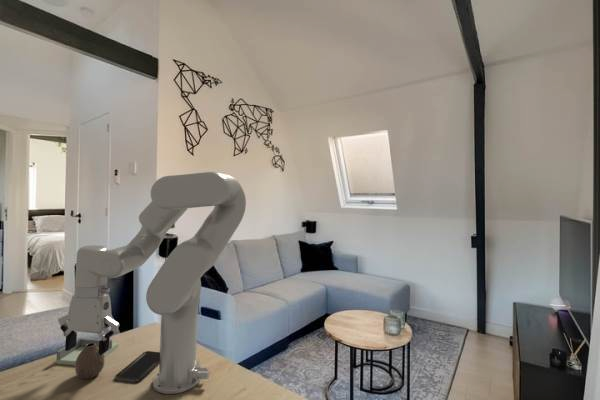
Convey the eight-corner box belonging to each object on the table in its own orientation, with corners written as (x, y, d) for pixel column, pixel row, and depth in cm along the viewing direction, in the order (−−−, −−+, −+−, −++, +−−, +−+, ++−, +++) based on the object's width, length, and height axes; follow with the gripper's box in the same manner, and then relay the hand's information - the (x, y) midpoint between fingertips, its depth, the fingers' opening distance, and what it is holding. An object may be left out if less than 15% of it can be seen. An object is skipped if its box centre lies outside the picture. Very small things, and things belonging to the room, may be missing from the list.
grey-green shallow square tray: (117, 346, 105) (118, 335, 105) (91, 366, 93) (92, 354, 93) (86, 344, 106) (86, 333, 106) (56, 363, 94) (56, 351, 94)
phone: (112, 377, 87) (145, 350, 102) (112, 381, 87) (145, 354, 102) (139, 381, 86) (168, 353, 101) (139, 385, 86) (168, 356, 101)
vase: (89, 384, 85) (90, 352, 85) (68, 380, 86) (69, 348, 86) (110, 370, 92) (110, 340, 91) (89, 366, 93) (90, 337, 93)
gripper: (128, 289, 91) (124, 347, 92) (72, 283, 93) (68, 340, 93) (111, 298, 84) (107, 361, 84) (50, 291, 85) (46, 353, 86)
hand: (86, 350), depth 89 cm, fingers open, 9 cm apart
